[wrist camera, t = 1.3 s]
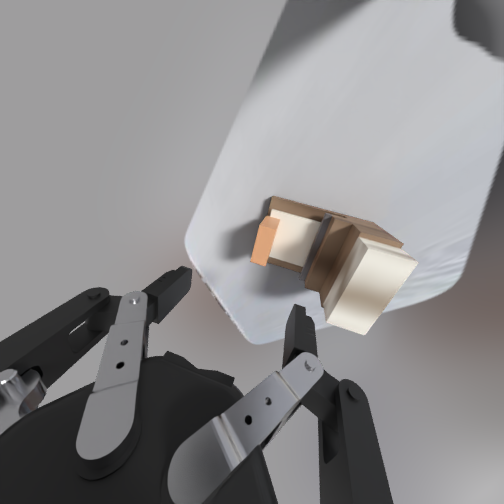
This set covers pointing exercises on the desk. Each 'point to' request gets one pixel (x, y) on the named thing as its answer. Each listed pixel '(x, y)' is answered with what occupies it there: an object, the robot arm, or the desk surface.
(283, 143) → the desk surface
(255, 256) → the plank with orange cube
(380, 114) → the desk surface
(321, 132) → the desk surface
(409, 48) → the desk surface
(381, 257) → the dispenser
